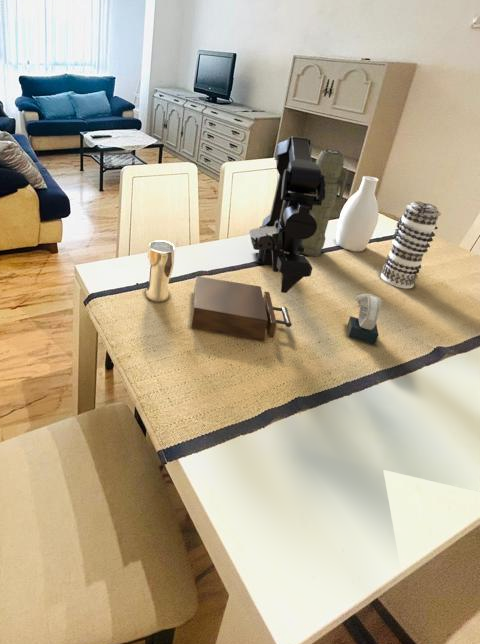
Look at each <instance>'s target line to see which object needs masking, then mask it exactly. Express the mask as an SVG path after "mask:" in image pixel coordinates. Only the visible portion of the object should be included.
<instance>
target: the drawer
mask: <svg viewBox="0 0 480 644" xmlns="http://www.w3.org/2000/svg"><path fill="white" fill-rule="evenodd" d="M263 300H264V304H265V309H266V314H267V319H268V322H267V326H266V334H267V338H268V339H274V337H275V332H276V328H277V324H279V325H284V326H285V327H286V328H291V327H292V321H291V317H290V315H289V311H288V308H287V306H282V307H278V306H273V302H272V297H271V294H270V291H264V292H263ZM275 311H277V312H281V314H282V317H283V320H281V319H277V318H276V313H275Z"/></svg>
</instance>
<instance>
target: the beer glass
mask: <svg viewBox="0 0 480 644" xmlns="http://www.w3.org/2000/svg"><path fill="white" fill-rule="evenodd" d="M175 251H176V247H175V245H174V244H173V243H171V242H170V241H167V240H162V239H160V240H159V239H158V240H153V241H151V242H150V243H149V245H148V252H147V258H146V270H147V279H148V283H147V287H146V290H145V296H146V297H147V298H148V299H149V300H150V301H153V302H157V303H158V302H160V303H161V302H164V301H166V300H167V299H169V282H170V279H171V276H172V273H173V270H174V264H175Z"/></svg>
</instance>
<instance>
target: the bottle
mask: <svg viewBox="0 0 480 644" xmlns="http://www.w3.org/2000/svg"><path fill="white" fill-rule="evenodd" d="M361 180H362V181H361V183H360V185H359V188H358V190H357V191H356V192H355V193H353V194H352V195H351V196H350V197H349V198H348V200H347V201H346V202H345V203H344V205H343V208H342V209H341V211H340V215H339V219H338V223H337V229H336V239H335V242H336V244H337V245H338V246H339V247H340V248H342V249H344V250H347V251H351V252H363V251H364V250H366V248H367V246H368V244H369V242H370V241H371V239H372V237H373V235H374V232H375V230H376V227H377V225H378V221H379V203H378V200H377V197H376V189H377V185H378V182H379V178H378V177H374V176H369V175H363V176H362V179H361Z"/></svg>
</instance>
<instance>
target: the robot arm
mask: <svg viewBox="0 0 480 644" xmlns="http://www.w3.org/2000/svg"><path fill="white" fill-rule="evenodd" d="M312 153H313V146H312V144H311V138H308V137H305V136H296V135H292V136H288V138H287V139H286V140H283V141H281V142H279V143H278V144H277V147H276V150H275V155H274V160H275V161H276V163H275V165H276V170H277V173H278V179H277V183H276V187H275V191H274V196H273V201H272V205H271V209H270V213H269V215H267V216H266V217H265V218H263V220H262V224H261V226H259V227H257V228H252V229H250V230H249V236H250V241H251V244H252V249H253V250H255V251H258V252H255V254H254V255H255V256H254V257H255V259H256V263H257V264H258V265H263V266H269V267H272V272H273V273H278V272H279V274H281V278H280V292H281V294H282V293H283V294H286V293H288V292H289V291H290V290H291V289H292V288H293V287H294V286H295V285H296V284H297V283H298V282H300V281H301V280H302V279H303V278H307V277H311V276H312V273H313V266H312V264H311V263H310V261H309V259H308V258H307V257H306V255H303V254H302V255H301V254H298V253H300V252H304V247H303V245H302V243H303V239H307V238H310V237H311V236H312V235H313V234H314V233H315V232H316V229H317V223H316V220H315V218H314V215H313V213H312V207H313V205H319V206H321V204H322V200H324V199H325V184H326V180H325V179H324V175H323V174H322V172H321V169H320V167H319V165H317V164H315V162H314V161H312ZM313 162H314V163H313ZM316 190H317V197H316V196H310V195H316ZM305 194H310V195H305ZM316 198H317V199H316Z"/></svg>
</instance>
